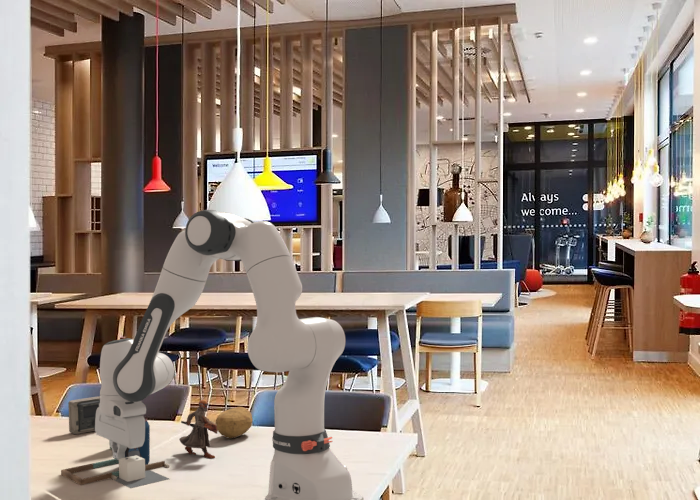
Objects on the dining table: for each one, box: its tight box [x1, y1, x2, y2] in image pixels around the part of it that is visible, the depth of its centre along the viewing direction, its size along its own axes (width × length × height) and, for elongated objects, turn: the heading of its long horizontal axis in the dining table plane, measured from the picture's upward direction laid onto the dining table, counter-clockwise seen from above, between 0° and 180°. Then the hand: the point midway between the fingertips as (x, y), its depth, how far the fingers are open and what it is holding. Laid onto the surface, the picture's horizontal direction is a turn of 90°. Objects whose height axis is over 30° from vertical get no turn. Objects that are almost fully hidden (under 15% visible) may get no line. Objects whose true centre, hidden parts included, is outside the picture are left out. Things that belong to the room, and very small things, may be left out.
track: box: [60, 458, 171, 486], centre depth 191 cm, size 15×22×2 cm
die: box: [118, 455, 146, 482], centre depth 185 cm, size 5×5×5 cm
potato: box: [214, 406, 253, 439], centre depth 224 cm, size 10×14×8 cm
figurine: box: [179, 399, 218, 459], centre depth 204 cm, size 14×7×15 cm, turn 33°
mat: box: [112, 469, 170, 489], centre depth 184 cm, size 10×10×1 cm
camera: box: [67, 395, 100, 435], centre depth 234 cm, size 11×6×10 cm, turn 130°
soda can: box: [125, 417, 151, 465], centre depth 195 cm, size 7×7×12 cm
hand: (118, 459), depth 192 cm, fingers closed
